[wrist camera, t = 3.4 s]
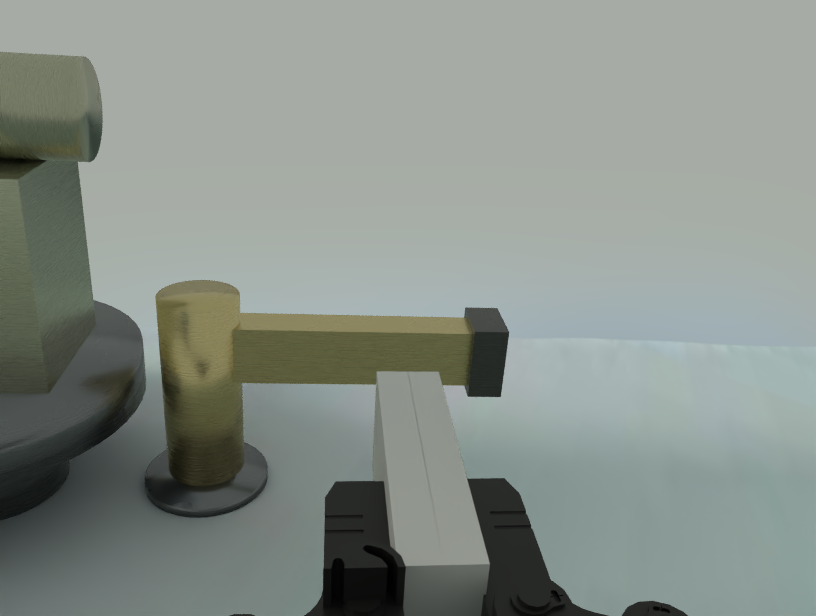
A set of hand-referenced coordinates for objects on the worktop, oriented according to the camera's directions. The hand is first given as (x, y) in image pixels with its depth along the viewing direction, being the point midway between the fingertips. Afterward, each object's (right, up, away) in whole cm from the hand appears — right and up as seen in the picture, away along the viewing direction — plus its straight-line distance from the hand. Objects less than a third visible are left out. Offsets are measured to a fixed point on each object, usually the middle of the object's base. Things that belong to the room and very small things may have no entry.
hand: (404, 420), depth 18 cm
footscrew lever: (-3, -4, +15) cm, 16 cm away
